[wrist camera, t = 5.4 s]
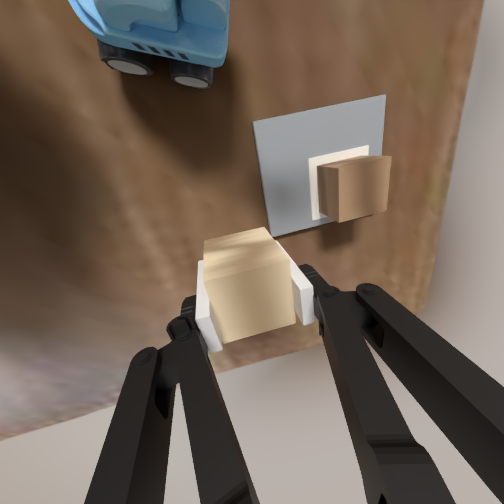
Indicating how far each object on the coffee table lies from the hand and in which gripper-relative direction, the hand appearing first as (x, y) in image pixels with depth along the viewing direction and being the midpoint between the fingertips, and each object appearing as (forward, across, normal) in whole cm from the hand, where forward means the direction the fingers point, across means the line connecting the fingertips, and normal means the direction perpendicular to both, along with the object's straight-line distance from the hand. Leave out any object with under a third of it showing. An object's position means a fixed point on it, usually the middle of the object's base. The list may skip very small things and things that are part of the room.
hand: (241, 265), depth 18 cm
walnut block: (+11, +15, +2) cm, 19 cm away
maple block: (+1, 0, 0) cm, 1 cm away
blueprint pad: (+12, +13, +4) cm, 18 cm away
